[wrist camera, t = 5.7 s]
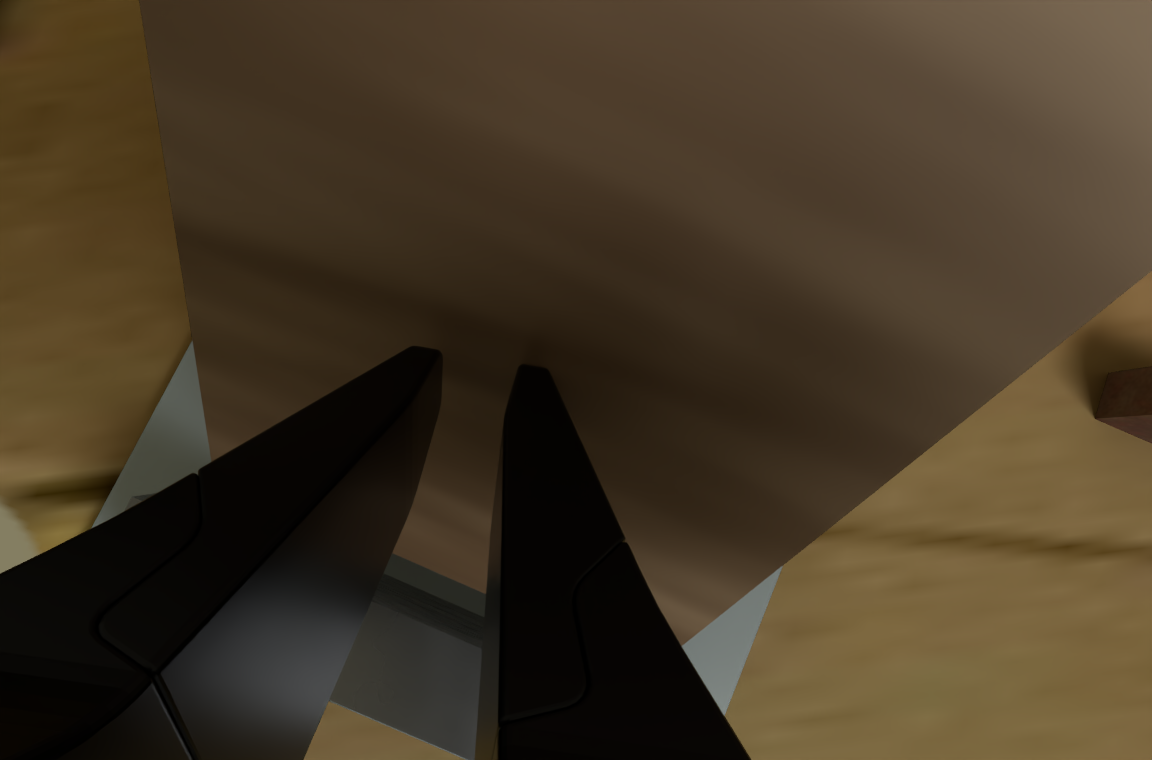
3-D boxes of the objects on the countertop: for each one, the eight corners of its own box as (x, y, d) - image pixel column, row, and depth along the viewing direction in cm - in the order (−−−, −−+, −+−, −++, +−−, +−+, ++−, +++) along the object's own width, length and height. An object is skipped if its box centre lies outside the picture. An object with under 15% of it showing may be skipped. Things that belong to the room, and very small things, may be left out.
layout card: (669, 839, 14) (673, 849, 14) (70, 582, 14) (58, 586, 13) (977, 51, 17) (987, 43, 16) (483, -189, 16) (483, -203, 16)
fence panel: (661, 681, 13) (2277, -526, 2) (197, 477, 12) (-276, -1987, 2) (671, 619, 14) (1822, -409, 3) (243, 430, 13) (84, -1364, 3)
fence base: (630, 779, 14) (648, 836, 12) (145, 570, 14) (80, 593, 12) (664, 696, 14) (687, 738, 12) (188, 488, 14) (132, 496, 12)
